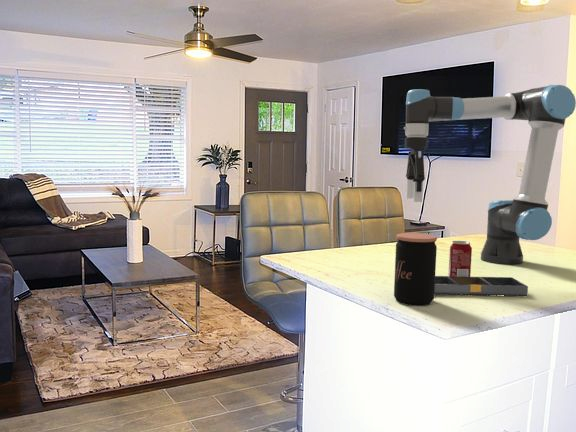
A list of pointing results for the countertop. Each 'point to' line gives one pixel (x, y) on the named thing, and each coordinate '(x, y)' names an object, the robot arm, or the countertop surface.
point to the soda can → (460, 259)
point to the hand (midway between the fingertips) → (414, 200)
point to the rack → (479, 286)
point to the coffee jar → (415, 269)
